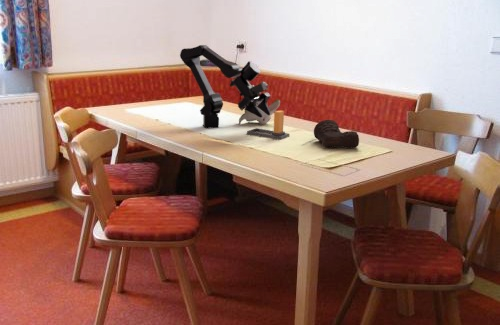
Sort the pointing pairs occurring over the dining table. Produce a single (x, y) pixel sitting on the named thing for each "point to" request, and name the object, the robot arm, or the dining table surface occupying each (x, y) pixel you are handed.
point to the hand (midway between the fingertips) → (265, 115)
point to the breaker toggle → (278, 123)
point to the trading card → (332, 172)
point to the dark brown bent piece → (335, 135)
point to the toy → (265, 117)
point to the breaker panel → (254, 132)
